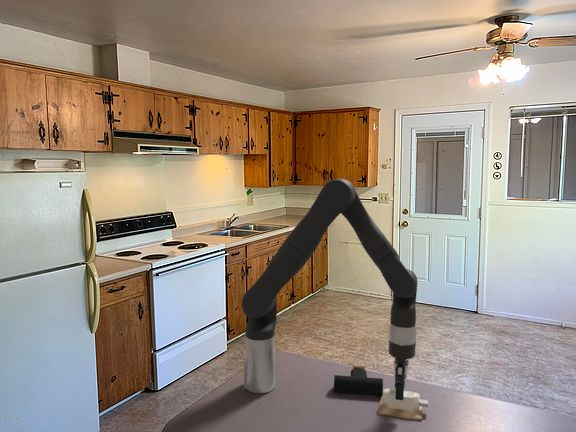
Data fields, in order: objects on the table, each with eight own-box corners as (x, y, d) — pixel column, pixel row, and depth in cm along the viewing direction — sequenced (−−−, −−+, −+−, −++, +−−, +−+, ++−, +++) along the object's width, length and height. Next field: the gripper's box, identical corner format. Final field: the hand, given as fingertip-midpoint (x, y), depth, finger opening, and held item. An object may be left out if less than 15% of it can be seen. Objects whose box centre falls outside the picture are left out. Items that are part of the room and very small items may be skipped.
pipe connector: (336, 362, 151) (381, 365, 148) (336, 377, 151) (381, 381, 149) (333, 379, 140) (383, 382, 137) (333, 395, 140) (382, 399, 138)
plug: (382, 406, 131) (382, 393, 131) (383, 400, 135) (383, 387, 134) (427, 413, 128) (428, 400, 127) (427, 407, 131) (428, 394, 130)
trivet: (378, 413, 129) (378, 411, 128) (381, 397, 138) (381, 395, 138) (421, 420, 125) (421, 418, 125) (422, 402, 134) (422, 401, 134)
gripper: (391, 328, 137) (389, 379, 139) (386, 346, 124) (384, 402, 125) (416, 331, 135) (414, 383, 137) (415, 350, 121) (412, 406, 123)
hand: (400, 392), depth 131 cm, fingers open, 8 cm apart
